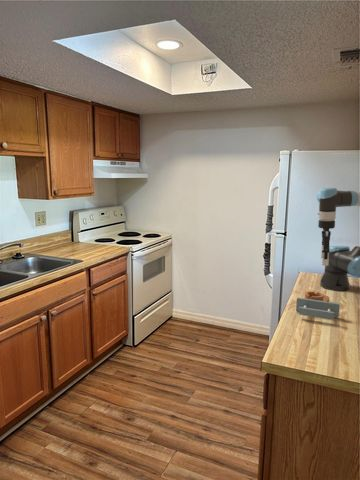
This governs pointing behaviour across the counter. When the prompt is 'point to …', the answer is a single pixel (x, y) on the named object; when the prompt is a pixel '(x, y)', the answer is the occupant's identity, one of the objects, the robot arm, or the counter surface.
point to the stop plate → (317, 308)
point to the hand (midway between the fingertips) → (324, 261)
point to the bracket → (316, 296)
